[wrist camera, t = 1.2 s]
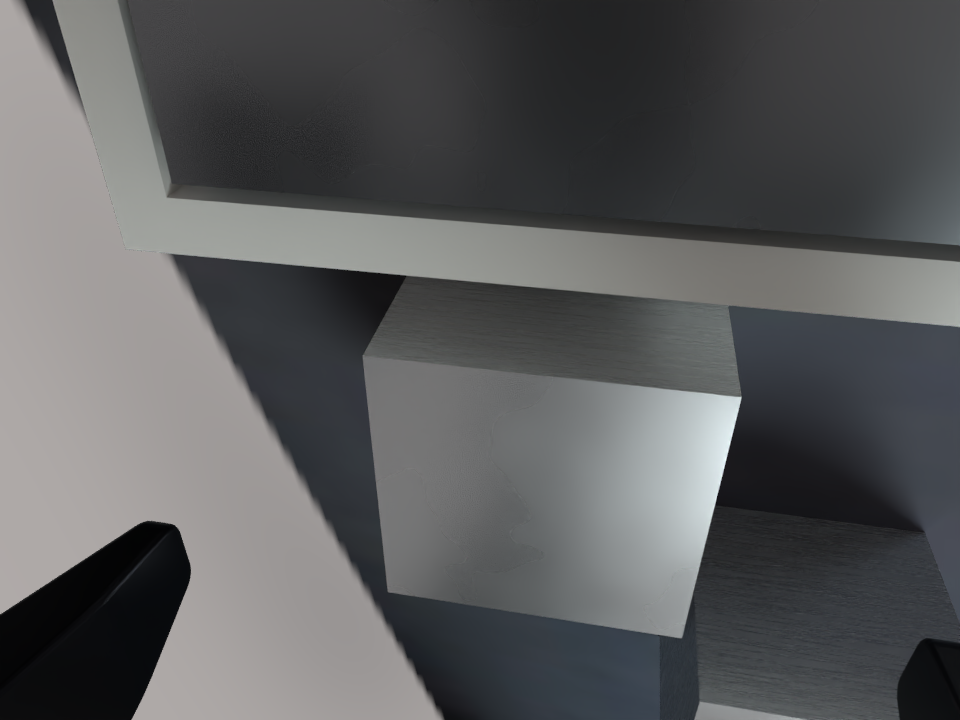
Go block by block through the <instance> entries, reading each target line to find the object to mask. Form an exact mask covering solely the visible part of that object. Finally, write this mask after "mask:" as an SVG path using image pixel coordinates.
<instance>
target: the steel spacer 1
mask: <svg viewBox="0 0 960 720" xmlns="http://www.w3.org/2000/svg"><path fill="white" fill-rule="evenodd" d="M363 365H364V374H365V383H366V393H367V402H368V411H369V421H370V430H371V439H372V449H373V458H374V467H375V477H376V486H377V495H378V504H379V514H380V523H381V532H382V542H383V551H384V560H385V570H386V579H387V588H388V592H391V593H397V594H404V595H410V596H416V597H423V598H429V599H435V600H442V601H448V602H454V603H461V604H467V605H473V606H480V607H486V608H492V609H499V610H505V611H511V612H518V613H524V614H530V615H537V616H543V617H549V618H556V619H562V620H568V621H575V622H581V623H587V624H594V625H600V626H606V627H613V628H619V629H625V630H632V631H638V632H644V633H651V634H657V635H663V636H670V637H676V638H682V636H683V632H684V628H685V624H686V620H687V615H688V611H689V607H690V603H691V599H692V595H693V591H694V587H695V583H696V579H697V575H698V571H699V567H700V563H701V559H702V555H703V551H704V547H705V543H706V539H707V535H708V531H709V527H710V523H711V519H712V515H713V511H714V507H715V503H716V499H717V495H718V491H719V487H720V483H721V479H722V475H723V471H724V467H725V463H726V459H727V455H728V451H729V446H730V442H731V438H732V434H733V430H734V426H735V422H736V418H737V414H738V410H739V406H740V402H741V398H742V396H741V390H740V383H739V376H738V370H737V363H736V356H735V349H734V343H733V336H732V329H731V323H730V316H729V309H728V305H720V304H709V303H698V302H687V301H677V300H666V299H655V298H644V297H634V296H623V295H612V294H601V293H590V292H580V291H569V290H558V289H547V288H536V287H526V286H515V285H504V284H493V283H483V282H472V281H461V280H450V279H439V278H429V277H418V276H406V278H405V280H404V282H403V283H402V285H401V287H400V289H399V291H398V292H397V294H396V296H395V298H394V300H393V302H392V303H391V305H390V307H389V309H388V311H387V312H386V314H385V316H384V318H383V320H382V321H381V323H380V325H379V327H378V329H377V331H376V332H375V334H374V336H373V338H372V340H371V341H370V343H369V345H368V347H367V349H366V350H365V352H364V354H363Z"/></svg>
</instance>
